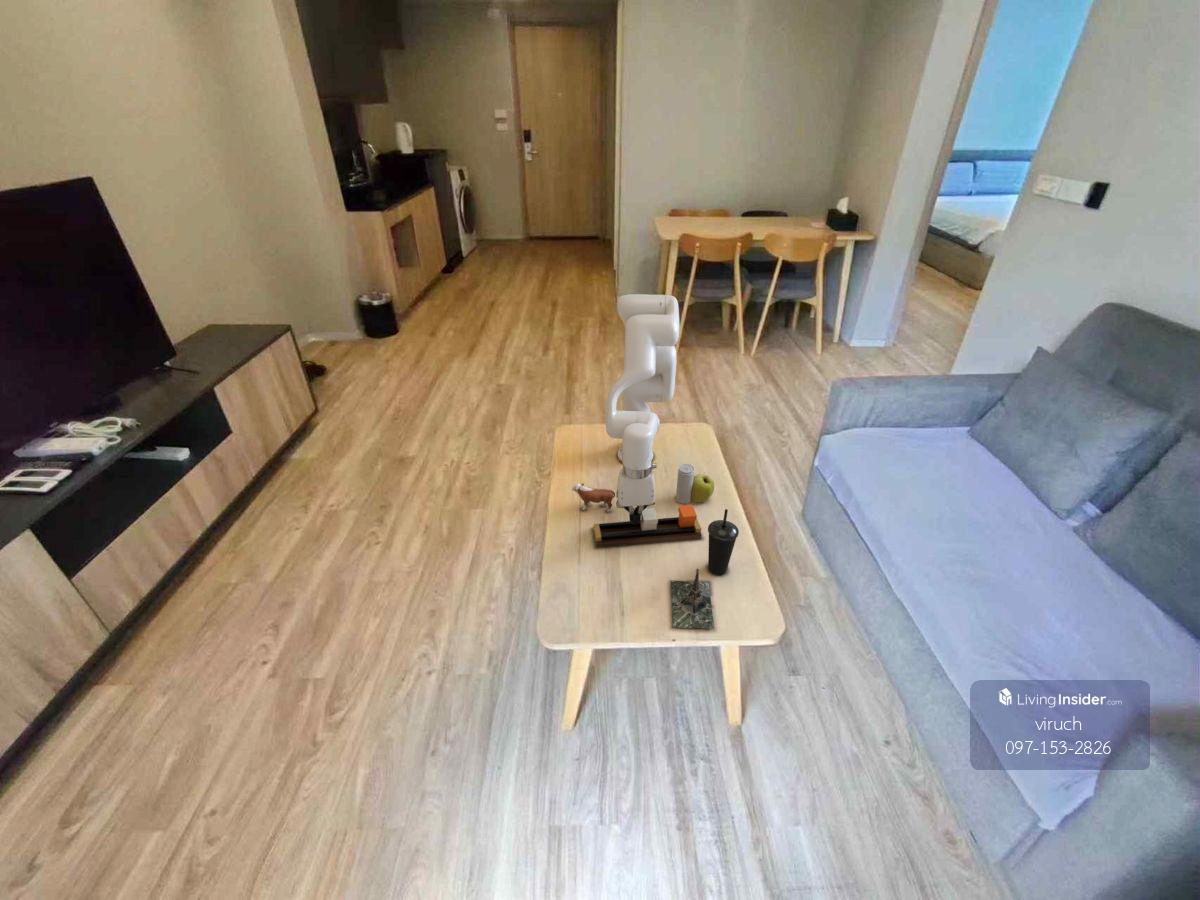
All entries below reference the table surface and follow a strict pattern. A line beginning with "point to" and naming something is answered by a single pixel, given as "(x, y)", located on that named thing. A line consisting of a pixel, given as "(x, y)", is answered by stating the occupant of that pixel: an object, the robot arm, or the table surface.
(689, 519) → the orange rectangular block
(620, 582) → the table surface
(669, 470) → the table surface
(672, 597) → the eiffel tower figurine
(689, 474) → the beverage can
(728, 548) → the drinking cup
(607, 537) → the rails
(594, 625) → the table surface
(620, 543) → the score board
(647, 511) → the white boxy piece
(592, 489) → the bull figurine
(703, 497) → the apple
